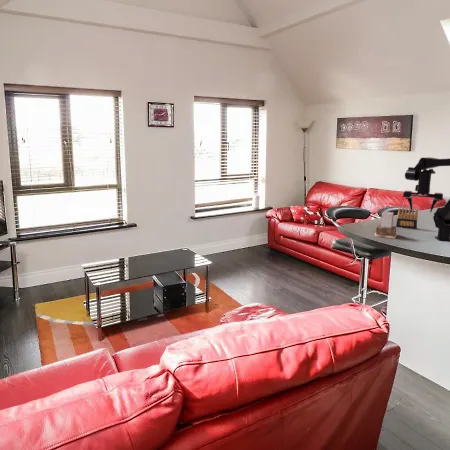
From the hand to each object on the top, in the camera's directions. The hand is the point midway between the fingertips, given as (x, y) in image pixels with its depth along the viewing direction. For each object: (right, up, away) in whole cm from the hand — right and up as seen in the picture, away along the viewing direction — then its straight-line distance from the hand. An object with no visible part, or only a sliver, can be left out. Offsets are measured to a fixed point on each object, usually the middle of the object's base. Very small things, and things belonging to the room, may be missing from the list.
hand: (421, 211), depth 226 cm
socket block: (-20, -13, -3) cm, 24 cm away
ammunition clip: (-1, -9, +16) cm, 19 cm away
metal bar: (-20, -12, -3) cm, 23 cm away
